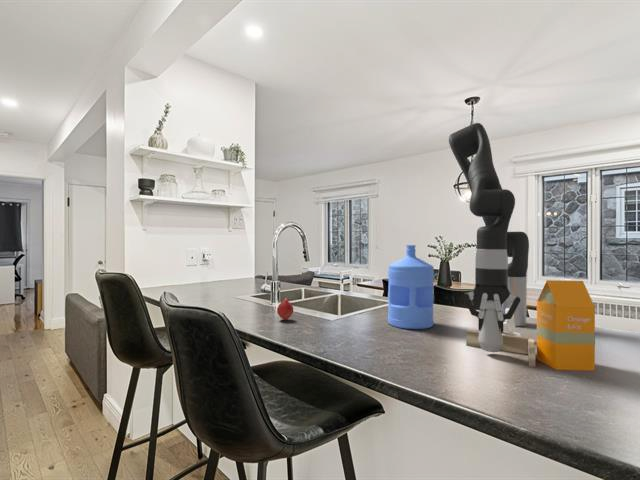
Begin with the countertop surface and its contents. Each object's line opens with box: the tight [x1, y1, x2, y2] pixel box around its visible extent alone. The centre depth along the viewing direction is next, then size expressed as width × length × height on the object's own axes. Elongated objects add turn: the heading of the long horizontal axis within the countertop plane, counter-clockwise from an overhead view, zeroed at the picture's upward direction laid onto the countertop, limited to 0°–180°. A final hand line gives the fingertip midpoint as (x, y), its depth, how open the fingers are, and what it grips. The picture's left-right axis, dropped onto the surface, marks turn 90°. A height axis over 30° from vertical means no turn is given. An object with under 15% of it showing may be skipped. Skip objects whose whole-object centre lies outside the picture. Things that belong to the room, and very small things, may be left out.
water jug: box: [387, 244, 435, 330], centre depth 124 cm, size 16×16×28 cm
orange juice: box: [536, 279, 596, 371], centre depth 84 cm, size 8×9×20 cm
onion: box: [276, 298, 294, 321], centre depth 128 cm, size 6×6×8 cm
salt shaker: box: [478, 300, 503, 353], centre depth 90 cm, size 6×6×13 cm
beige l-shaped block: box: [465, 329, 536, 368], centre depth 91 cm, size 12×16×4 cm
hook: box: [502, 308, 524, 337], centre depth 105 cm, size 8×12×7 cm
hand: (490, 333), depth 90 cm, fingers closed on salt shaker, 3 cm apart
